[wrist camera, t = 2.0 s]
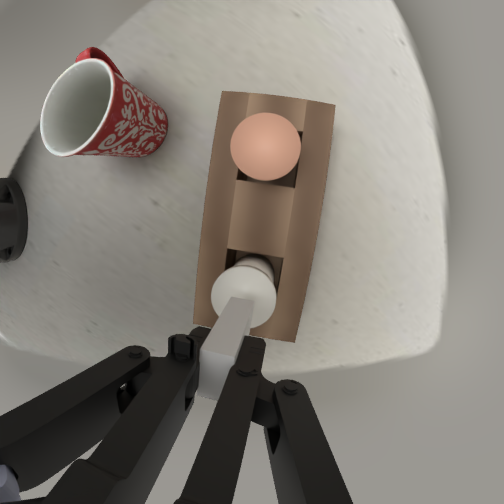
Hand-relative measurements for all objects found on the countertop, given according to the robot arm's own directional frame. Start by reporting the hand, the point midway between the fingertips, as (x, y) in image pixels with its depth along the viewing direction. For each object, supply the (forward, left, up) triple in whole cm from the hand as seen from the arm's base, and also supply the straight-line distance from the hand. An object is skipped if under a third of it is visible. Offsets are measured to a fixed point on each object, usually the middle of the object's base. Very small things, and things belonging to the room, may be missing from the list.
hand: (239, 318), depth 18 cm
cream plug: (0, 0, -10) cm, 10 cm away
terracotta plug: (0, +11, -10) cm, 15 cm away
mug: (-17, +16, -15) cm, 28 cm away
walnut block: (0, +6, -15) cm, 16 cm away
